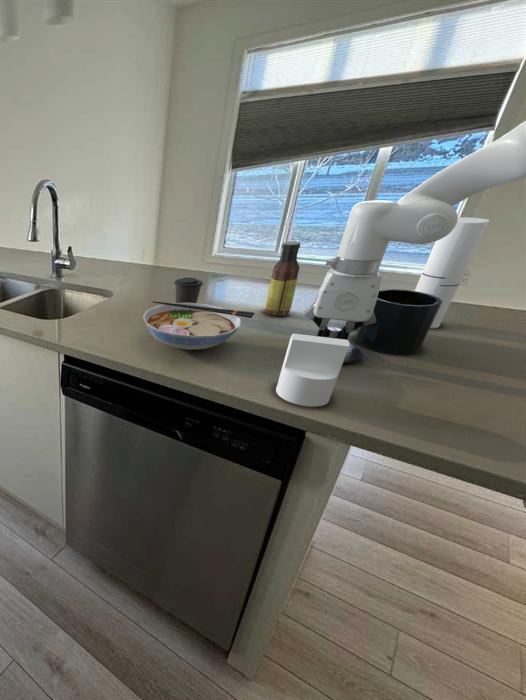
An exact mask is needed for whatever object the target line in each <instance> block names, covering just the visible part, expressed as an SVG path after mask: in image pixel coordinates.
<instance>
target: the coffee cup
mask: <svg viewBox="0 0 526 700" xmlns="http://www.w3.org/2000/svg"><path fill="white" fill-rule="evenodd" d="M173 284H174V285H175V303H198V299H199V296H200V292H201V288H202V286H203V285H204V282H203V280H202V279H199V278H196V277H182V278H181V277H180V278H177V279H176V280H175V281H174V282H173Z"/></svg>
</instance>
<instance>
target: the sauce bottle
mask: <svg viewBox="0 0 526 700" xmlns="http://www.w3.org/2000/svg"><path fill="white" fill-rule="evenodd" d="M300 248H301V242H300V241H294V240H289V241H283V243H282V245H281V253H280V257H279V260H278V261H277V262H276V264H275V265H274V266H273V268H272V269H273V270H272V274H271V278H270V281H269V288H268V292H267V298H266V304H265V313H266V314H267V315H270V316H274V317H285V316H288V315H289V314H290V312H291V309H292V305H293V302H294V297H295V292H296V289H297V283H298V279H299V278H298V277H299V271H300V265H299V263H298V254H299V250H300Z"/></svg>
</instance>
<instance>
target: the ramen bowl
mask: <svg viewBox="0 0 526 700" xmlns="http://www.w3.org/2000/svg"><path fill="white" fill-rule="evenodd" d="M151 303H152V304H158V305H156V306H154V307H151V308H149V309H147V310H146V311H145V312H144V314H143V315H142V319H143V320H144V323H145V326H146V328H147V330H148V331H149V333H150V334H151V335H152V336H153V338H154V339H156V340H157V341H159V342H161V343H163V344H164V345H166V346H169V347H172V348H176V349H179V350H183V351H194V350H204V349H209V348H214V347H216V346H218V345H220V344H221V343H223V342H225V341H226V340H227V339H229V338H230V337H232V335H234V334H235V333H236V332H237V331H238V330H239V328H240V327H241V322H242V318H248V319H252V318H253V316H255V312H253V311H244V310H235V309H226V308H224V307H220V306H216V305H212V304H206V303H198V302H197V303H176V302H172V303H171V302H163V301H162V302H161V301H154V300H153V301H152V302H151ZM240 317H242V318H240Z"/></svg>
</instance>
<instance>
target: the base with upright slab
mask: <svg viewBox="0 0 526 700" xmlns="http://www.w3.org/2000/svg"><path fill="white" fill-rule="evenodd" d="M349 344H351V343H350V341H349V340H348V339H347V340H344V339H335V338H327V337H318V336H317V335H310V334H309V335H308V334H300V333H292V334H291V335H290V339H289V342H288V346H287V350H286V352H285V356H284V359H283V363H282V366H281V370H280V374H279V377H278V381H277V384H276V388H275V392H276V394H277V395H278V396H279V397H280V398H281V399H282V400H285V401H286V402H288V403H291V404H295V405H297V406H304V407H314V408H315V407H323V406H324V405H327V404H328V403H329V402H330V400H331V397H332V395H333V391H334V389H335V386H336V383H337V380H338V377H339V375H340V372H341V369H342V366H343V365H344V363H343V361H344V359H345V356H346V353H347V350H348V348H349Z"/></svg>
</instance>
